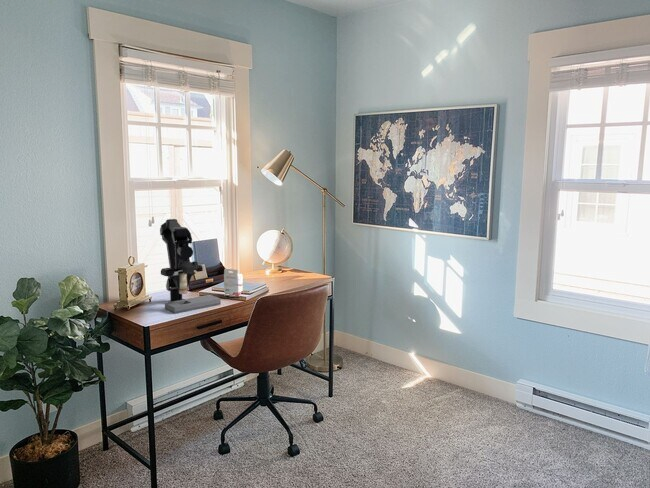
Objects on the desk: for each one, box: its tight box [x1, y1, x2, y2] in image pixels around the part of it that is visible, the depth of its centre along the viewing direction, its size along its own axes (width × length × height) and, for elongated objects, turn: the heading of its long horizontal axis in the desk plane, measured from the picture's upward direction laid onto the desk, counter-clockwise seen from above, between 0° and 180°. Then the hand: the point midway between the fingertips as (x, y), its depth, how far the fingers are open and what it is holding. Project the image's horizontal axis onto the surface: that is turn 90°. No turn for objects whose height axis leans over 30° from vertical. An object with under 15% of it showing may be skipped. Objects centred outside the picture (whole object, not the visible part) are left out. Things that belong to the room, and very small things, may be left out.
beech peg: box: [178, 273, 188, 295], centre depth 246 cm, size 4×4×9 cm
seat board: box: [164, 294, 222, 315], centre depth 251 cm, size 10×24×3 cm, turn 133°
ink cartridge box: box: [223, 268, 244, 296], centre depth 270 cm, size 9×5×15 cm, turn 68°
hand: (182, 288), depth 246 cm, fingers closed on beech peg, 4 cm apart
